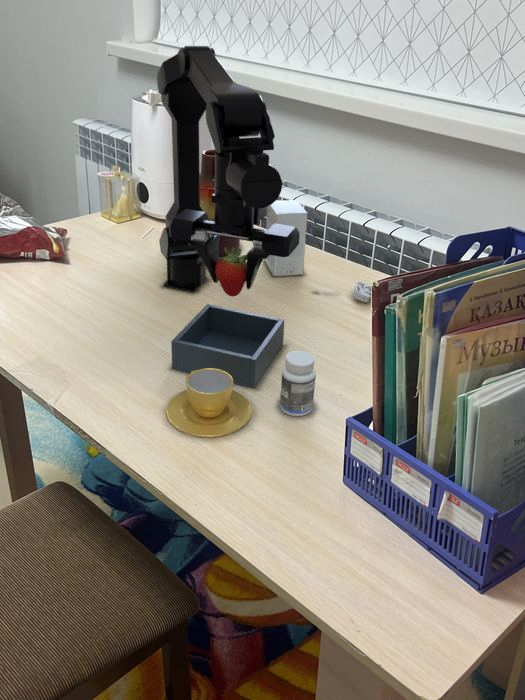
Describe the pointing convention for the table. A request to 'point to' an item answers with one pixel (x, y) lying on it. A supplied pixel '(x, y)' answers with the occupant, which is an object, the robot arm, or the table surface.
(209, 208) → the vase
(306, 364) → the pill bottle
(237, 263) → the fruit
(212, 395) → the cup
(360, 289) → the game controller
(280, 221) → the small box
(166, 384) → the table surface
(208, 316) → the box
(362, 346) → the table surface
